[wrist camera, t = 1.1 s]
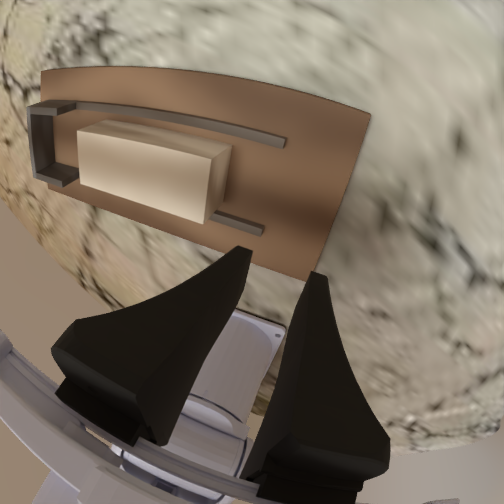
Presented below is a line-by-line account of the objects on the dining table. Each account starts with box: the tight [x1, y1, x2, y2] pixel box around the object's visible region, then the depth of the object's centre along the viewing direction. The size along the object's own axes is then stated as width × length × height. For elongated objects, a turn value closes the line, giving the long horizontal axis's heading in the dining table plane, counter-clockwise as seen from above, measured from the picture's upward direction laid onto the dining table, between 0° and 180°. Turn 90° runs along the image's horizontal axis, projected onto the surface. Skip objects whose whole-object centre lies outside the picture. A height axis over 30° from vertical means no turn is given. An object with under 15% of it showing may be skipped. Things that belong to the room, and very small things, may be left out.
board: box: [27, 66, 371, 282], centre depth 18 cm, size 12×26×3 cm, turn 78°
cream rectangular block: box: [77, 120, 232, 224], centre depth 17 cm, size 4×10×3 cm, turn 78°
